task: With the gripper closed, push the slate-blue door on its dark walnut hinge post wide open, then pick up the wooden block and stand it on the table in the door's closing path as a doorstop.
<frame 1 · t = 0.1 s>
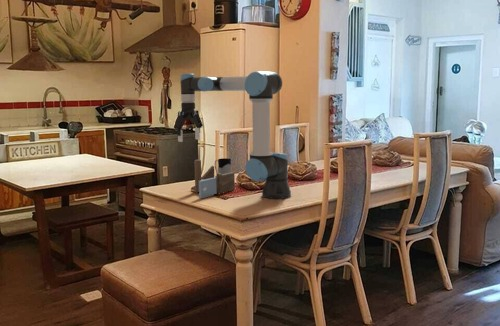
hand: (189, 140, 290), 28 cm above the table, tool pointing down, fingers open, 13 cm apart
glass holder: (222, 184, 312), on the table
door: (208, 187, 275), point 5 cm above the table, hinge at 0.0°
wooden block: (204, 192, 289), on the table
door frame: (210, 196, 277), on the table
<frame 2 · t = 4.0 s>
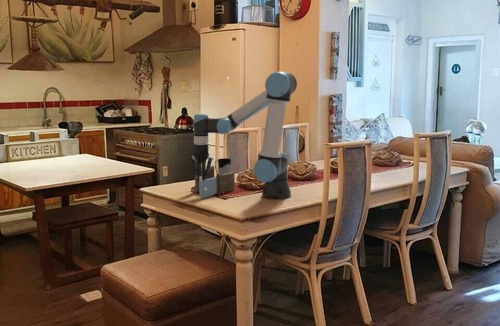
hand: (201, 188, 276), 4 cm above the table, tool pointing down, fingers closed
door: (209, 187, 275), point 5 cm above the table, hinge at 1.7°, touching gripper
everything else where it was.
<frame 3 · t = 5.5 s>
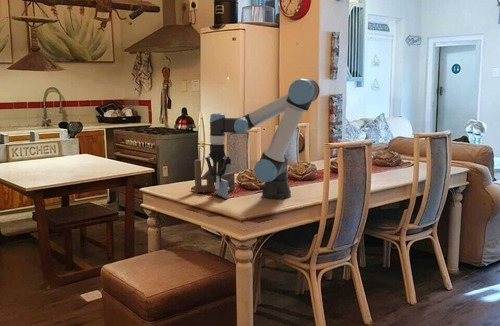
hand: (217, 188, 273), 5 cm above the table, tool pointing down, fingers closed
door: (223, 187, 275), point 5 cm above the table, hinge at 63.5°, touching gripper
everything else where it was.
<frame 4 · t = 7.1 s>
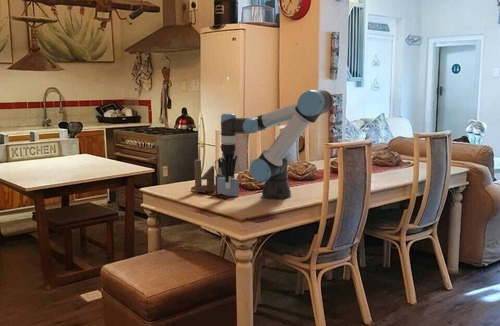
hand: (228, 188, 274), 5 cm above the table, tool pointing down, fingers closed
door: (228, 186, 278), point 5 cm above the table, hinge at 97.8°, touching gripper
everything else where it was.
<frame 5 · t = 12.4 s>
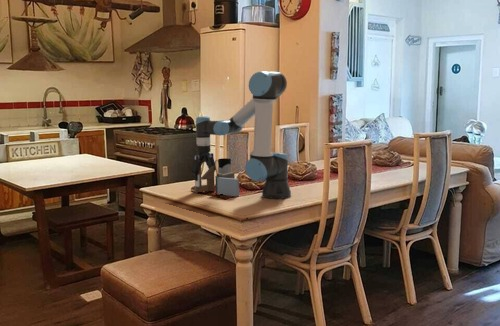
hand: (204, 184, 288), 4 cm above the table, tool pointing down, fingers closed on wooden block, 11 cm apart
door: (228, 186, 278), point 5 cm above the table, hinge at 98.5°
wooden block: (204, 192, 289), on the table, touching gripper
everything else where it was.
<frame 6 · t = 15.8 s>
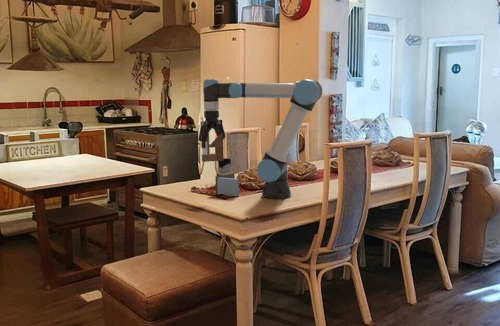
hand: (212, 153, 268), 24 cm above the table, tool pointing down, fingers closed on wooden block, 11 cm apart
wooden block: (212, 161, 269), point 20 cm above the table, touching gripper
everything else where it was.
when the fingers open (5 cm above the table, at t = 19.4 s): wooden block stays where it is, on the table.
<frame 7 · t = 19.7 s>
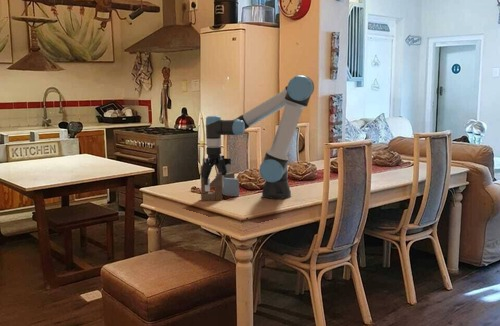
hand: (214, 189, 268), 5 cm above the table, tool pointing down, fingers open, 10 cm apart
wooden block: (211, 200, 269), on the table
everything else where it was.
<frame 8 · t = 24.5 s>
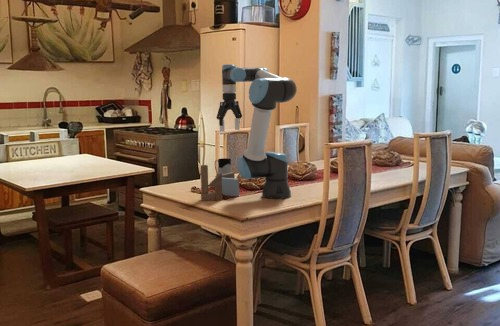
hand: (229, 130, 294), 33 cm above the table, tool pointing down, fingers open, 13 cm apart
nothing on the table moved.
at the end: door at +98° (first picture: +0°); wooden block inside the target area (1.6 cm from its centre), on the table; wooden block tilted 0° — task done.
